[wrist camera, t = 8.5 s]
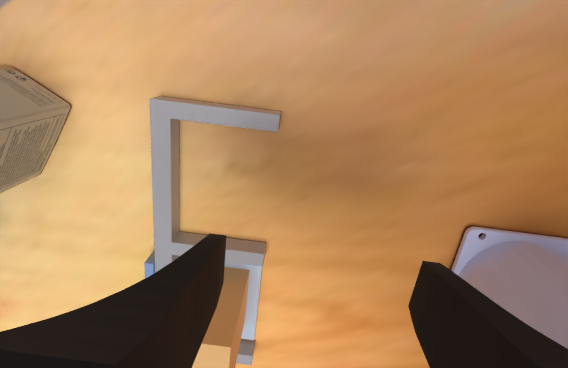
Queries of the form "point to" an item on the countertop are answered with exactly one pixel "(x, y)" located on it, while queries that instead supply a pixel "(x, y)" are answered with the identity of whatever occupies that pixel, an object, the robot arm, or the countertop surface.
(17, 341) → the robot arm
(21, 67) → the countertop surface
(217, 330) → the tan cardboard-colored block
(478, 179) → the countertop surface
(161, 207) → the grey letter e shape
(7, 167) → the skincare box
